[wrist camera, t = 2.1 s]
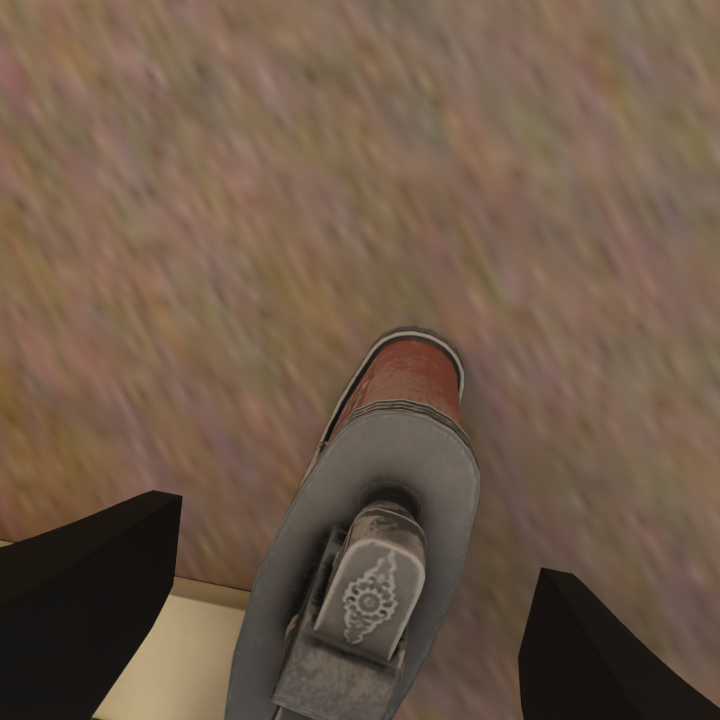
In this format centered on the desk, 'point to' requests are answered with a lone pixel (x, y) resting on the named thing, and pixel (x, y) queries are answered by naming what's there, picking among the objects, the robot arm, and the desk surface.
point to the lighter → (364, 545)
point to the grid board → (181, 657)
